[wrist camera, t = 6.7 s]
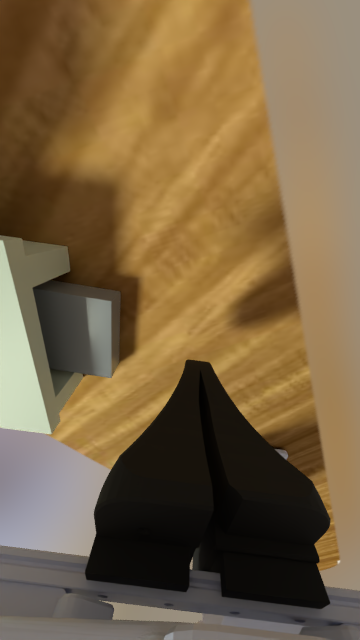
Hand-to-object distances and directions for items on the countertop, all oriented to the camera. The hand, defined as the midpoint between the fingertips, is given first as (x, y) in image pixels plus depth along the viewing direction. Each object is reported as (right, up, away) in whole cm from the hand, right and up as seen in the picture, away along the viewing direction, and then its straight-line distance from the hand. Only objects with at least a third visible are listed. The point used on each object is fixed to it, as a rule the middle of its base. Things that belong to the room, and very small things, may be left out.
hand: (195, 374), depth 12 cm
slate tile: (-10, +3, +4) cm, 11 cm away
